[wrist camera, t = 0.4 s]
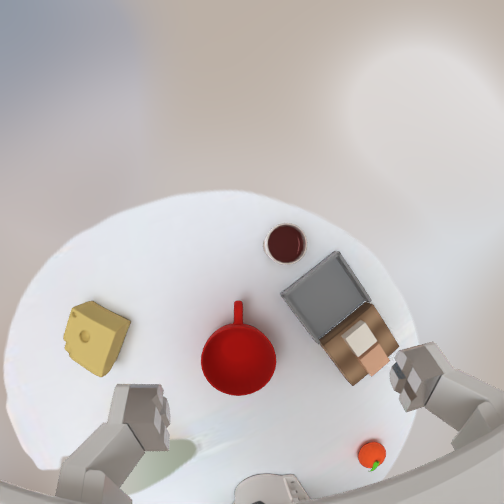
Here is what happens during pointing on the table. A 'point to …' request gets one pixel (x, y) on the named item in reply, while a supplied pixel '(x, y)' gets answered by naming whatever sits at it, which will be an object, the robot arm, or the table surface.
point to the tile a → (359, 338)
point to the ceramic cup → (238, 357)
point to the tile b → (373, 359)
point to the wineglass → (285, 244)
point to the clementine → (372, 455)
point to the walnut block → (343, 353)
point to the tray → (325, 295)
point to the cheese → (94, 337)
